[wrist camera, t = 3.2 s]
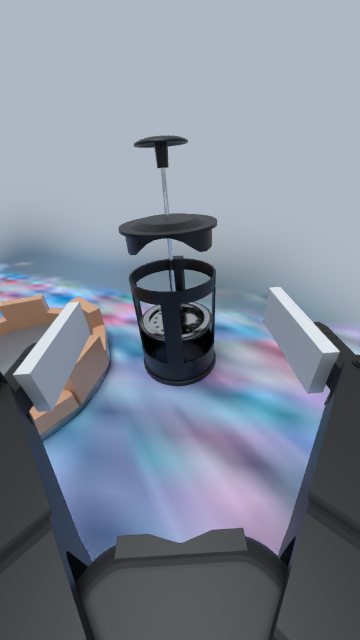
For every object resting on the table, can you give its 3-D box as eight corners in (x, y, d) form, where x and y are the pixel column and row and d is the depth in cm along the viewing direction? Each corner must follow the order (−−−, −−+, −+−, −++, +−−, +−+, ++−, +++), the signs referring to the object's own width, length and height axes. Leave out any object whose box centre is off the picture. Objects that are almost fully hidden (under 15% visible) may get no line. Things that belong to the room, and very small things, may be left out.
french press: (219, 390, 25) (232, 118, 13) (136, 391, 26) (69, 133, 13) (211, 328, 35) (215, 139, 22) (151, 330, 36) (121, 147, 23)
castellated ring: (-175, 449, 22) (-235, 416, 19) (16, 318, 41) (1, 291, 38) (20, 511, 17) (-20, 479, 14) (136, 329, 36) (130, 299, 33)
